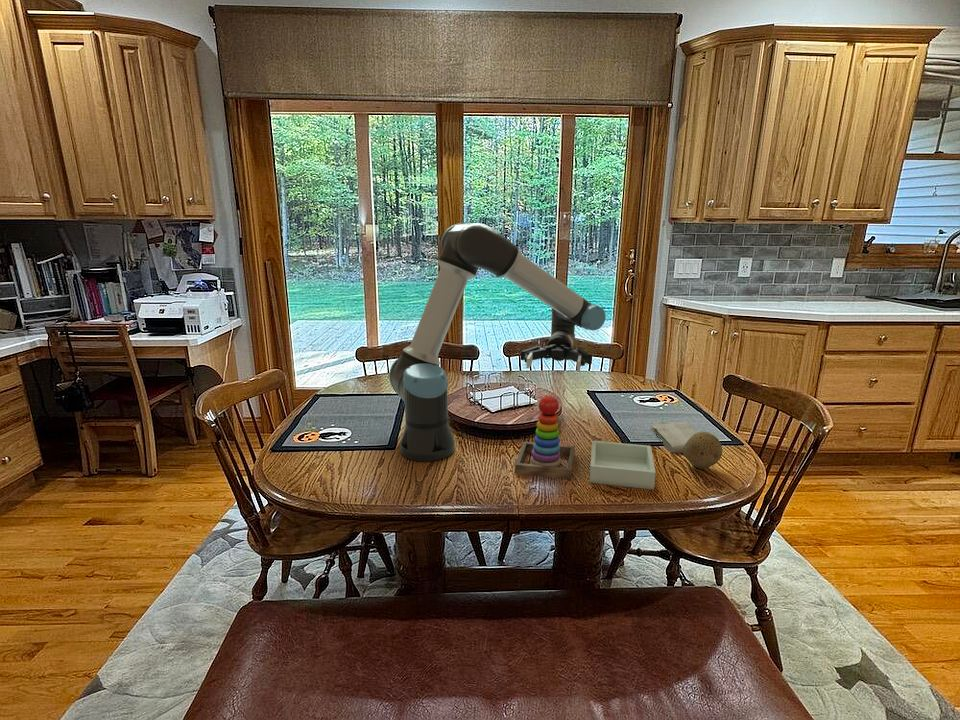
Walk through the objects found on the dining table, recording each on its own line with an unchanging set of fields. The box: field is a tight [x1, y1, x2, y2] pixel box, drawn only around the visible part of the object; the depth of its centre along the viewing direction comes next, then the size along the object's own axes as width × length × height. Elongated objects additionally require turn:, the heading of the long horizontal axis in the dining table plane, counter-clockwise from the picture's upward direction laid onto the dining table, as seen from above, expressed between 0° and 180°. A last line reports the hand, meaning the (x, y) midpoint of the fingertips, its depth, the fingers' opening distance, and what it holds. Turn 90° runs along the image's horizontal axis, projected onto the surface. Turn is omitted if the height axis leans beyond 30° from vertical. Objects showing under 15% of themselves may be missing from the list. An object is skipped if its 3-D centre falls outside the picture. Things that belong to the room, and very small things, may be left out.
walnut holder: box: [514, 441, 576, 480], centre depth 134 cm, size 14×14×2 cm
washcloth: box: [650, 421, 698, 454], centre depth 148 cm, size 12×18×3 cm, turn 3°
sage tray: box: [589, 440, 656, 491], centre depth 129 cm, size 15×15×4 cm
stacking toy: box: [530, 395, 562, 467], centre depth 132 cm, size 8×8×19 cm
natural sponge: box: [683, 431, 723, 470], centre depth 130 cm, size 9×9×10 cm
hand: (552, 365), depth 138 cm, fingers open, 13 cm apart
